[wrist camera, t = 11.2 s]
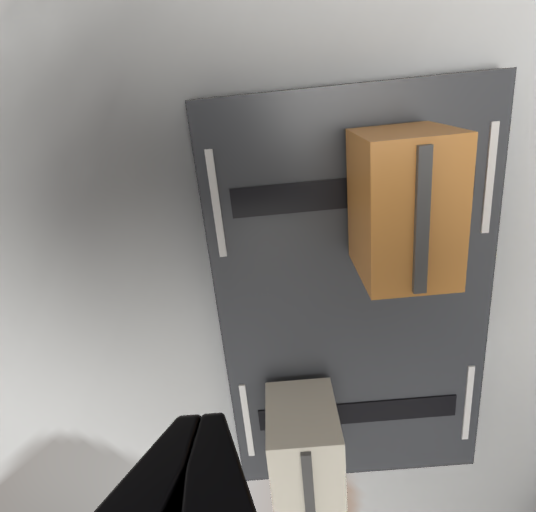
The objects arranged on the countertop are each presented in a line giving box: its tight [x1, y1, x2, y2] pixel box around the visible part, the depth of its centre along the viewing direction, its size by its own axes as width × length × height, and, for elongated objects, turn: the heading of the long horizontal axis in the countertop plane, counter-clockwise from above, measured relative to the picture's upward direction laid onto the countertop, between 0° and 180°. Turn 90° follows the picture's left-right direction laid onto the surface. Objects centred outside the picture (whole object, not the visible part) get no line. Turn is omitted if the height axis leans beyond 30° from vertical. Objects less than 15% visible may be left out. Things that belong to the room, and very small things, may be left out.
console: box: [185, 67, 517, 481], centre depth 20 cm, size 12×19×1 cm, turn 5°
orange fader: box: [346, 121, 478, 300], centre depth 15 cm, size 3×5×4 cm, turn 5°
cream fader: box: [265, 377, 348, 512], centre depth 19 cm, size 3×5×4 cm, turn 5°
